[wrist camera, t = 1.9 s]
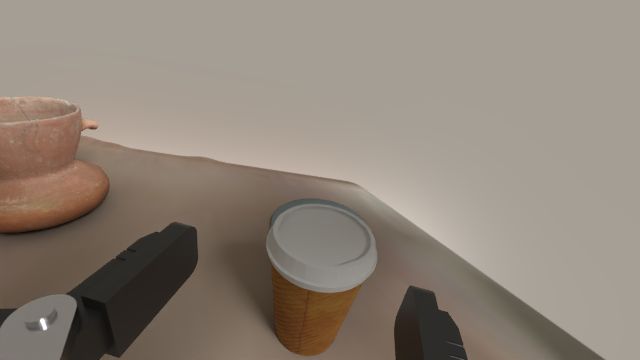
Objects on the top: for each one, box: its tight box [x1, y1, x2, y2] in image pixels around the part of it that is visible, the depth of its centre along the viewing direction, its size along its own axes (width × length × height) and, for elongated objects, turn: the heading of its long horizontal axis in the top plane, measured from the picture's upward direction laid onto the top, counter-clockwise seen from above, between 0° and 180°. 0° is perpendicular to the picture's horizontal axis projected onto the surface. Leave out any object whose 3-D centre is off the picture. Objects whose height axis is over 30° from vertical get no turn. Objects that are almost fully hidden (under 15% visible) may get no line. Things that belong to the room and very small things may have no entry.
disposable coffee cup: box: [266, 204, 378, 356], centre depth 25 cm, size 10×10×12 cm
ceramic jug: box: [0, 97, 109, 233], centre depth 34 cm, size 18×14×14 cm
